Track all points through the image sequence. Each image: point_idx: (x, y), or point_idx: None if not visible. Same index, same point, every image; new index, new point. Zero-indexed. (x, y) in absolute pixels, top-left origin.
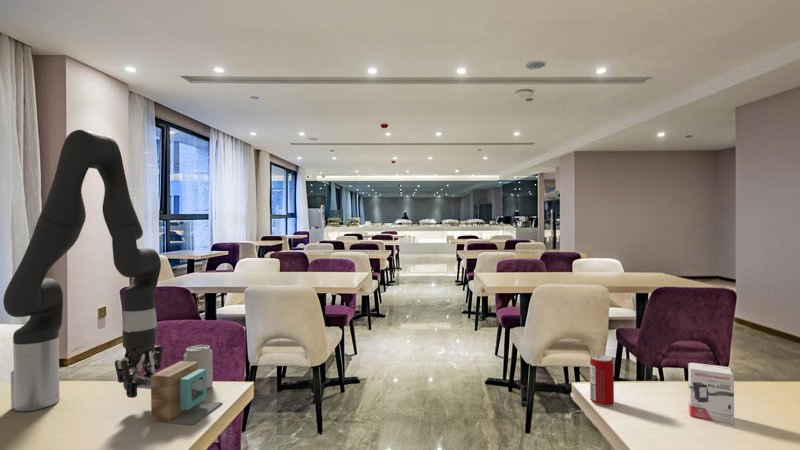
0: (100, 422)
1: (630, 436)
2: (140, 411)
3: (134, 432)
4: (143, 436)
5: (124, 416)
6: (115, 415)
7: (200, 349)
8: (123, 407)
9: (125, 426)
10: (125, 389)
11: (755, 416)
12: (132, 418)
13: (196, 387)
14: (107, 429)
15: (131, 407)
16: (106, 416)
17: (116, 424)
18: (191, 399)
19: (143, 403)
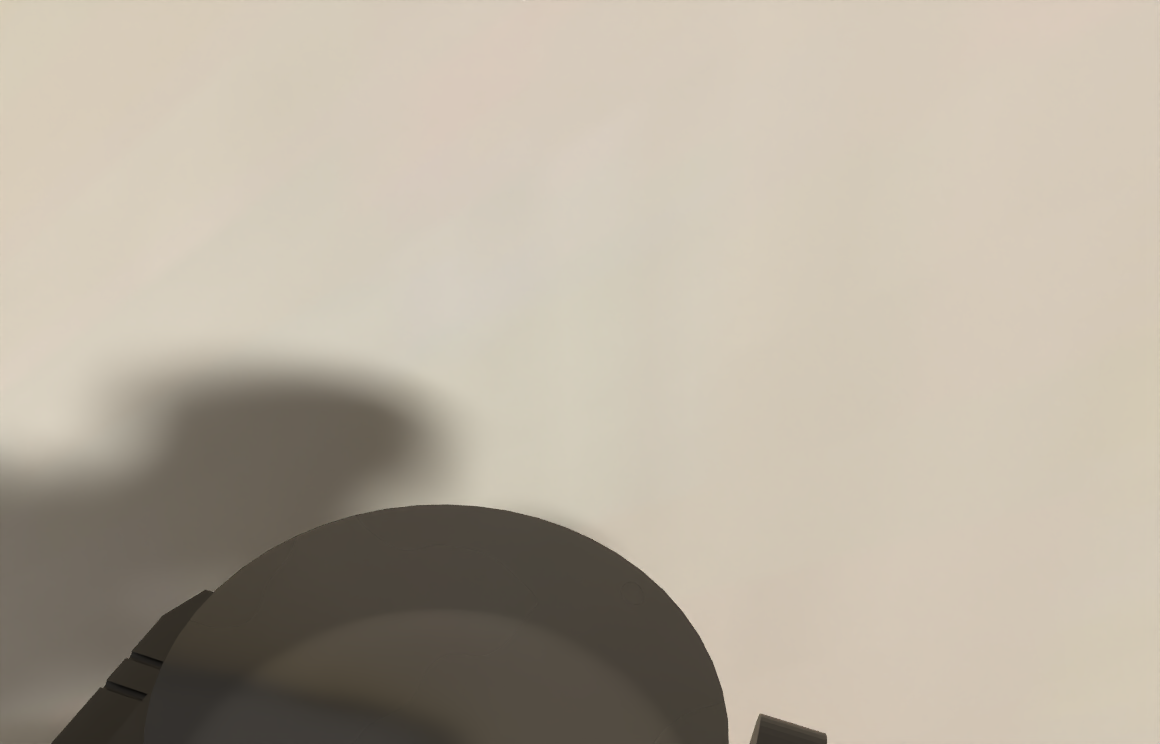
0: (124, 74)
1: None
2: (556, 485)
3: (55, 617)
4: (27, 707)
5: (369, 336)
6: (383, 169)
7: None
8: (735, 110)
9: (128, 483)
10: (319, 541)
11: None
12: (329, 472)
13: None
14: (6, 314)
15: (725, 272)
16: (326, 23)
17: (139, 354)
18: None
19: (908, 404)
